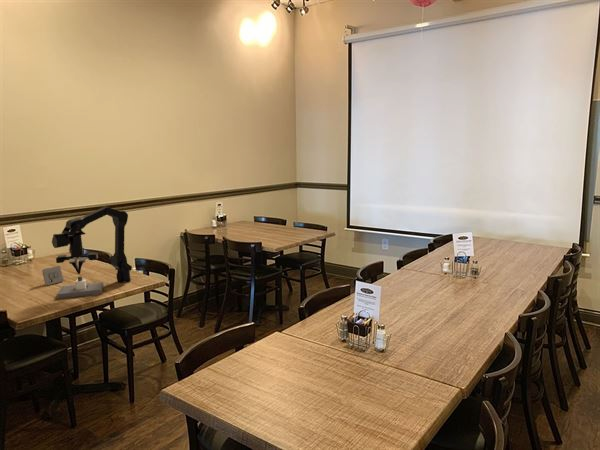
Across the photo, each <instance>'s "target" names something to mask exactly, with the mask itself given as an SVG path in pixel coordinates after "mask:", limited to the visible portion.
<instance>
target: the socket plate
mask: <svg viewBox="0 0 600 450" xmlns="http://www.w3.org/2000/svg"><path fill="white" fill-rule="evenodd" d="M104 286H105V285H104V282H103V281H102V282H93V283H91V282H90V283H86V287H87V289H82V290H76V287H75V284H72V285H63V286H61V287H60V289H59V291H58V292H57V294H56V296H57V300H58V299H59V300H60V299H71V298H81V297H87V296H97V295H101V294H102V292H103V290H104V288H105V287H104Z"/></svg>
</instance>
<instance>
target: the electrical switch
mask: <svg viewBox="0 0 600 450" xmlns="http://www.w3.org/2000/svg"><path fill="white" fill-rule="evenodd" d="M41 271H42V277H43V280H44V284H45V286H50V285H55V284H59V283H63V282H64V281H65V280H64V276H63V271H62V268H61V266H60V265H55V266H50V267H47V268H42V270H41Z"/></svg>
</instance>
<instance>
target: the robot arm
mask: <svg viewBox="0 0 600 450" xmlns="http://www.w3.org/2000/svg"><path fill="white" fill-rule="evenodd" d="M105 216H109V217H110V218H111V219H112V223H113V225H114V253H113V254H112V255H110V264H111V266H112V267H113V268H114V270H115V271H116V272H117V273H116V281H117V283H118V284H120V283H129V282H131V279H132V277H131V271H132V269H133V267H132V265H130V264H129V263H128V257H127V255H126V254H125V227H126V225H127V223H128V219H129V214H128V212H127V211H124V210H118V209H114V208H111V207H110V206H106V205H105V206H101V207H100V208H99V209H97V210H94V211H92V212H90V213H88V214H86V215H83V216H80V217H79V216H78V217H75V218H71V219H68V220H67V221H66V223H65V226H64V228H63V230H62V231H61V233H53V234H52V239H51V244H52V246H53V248H54V249H57V248H59V249H60V248H62V247H63V248H64V247H67V246H69V248H68V250H69V251H68V252H69V254H70V256H67V254H60V255H59V254H58V256H57V257H56V258H55V263H56V264H64V263H65V261H69V262H68V264H70V265H72V267H73V268H74V270H75V271H76V273H77V274H78V275H80V274H81V272H82V267H83V264H84V263H86V261H87V259H88V260H89V261H97V259H98V258H99V254H98V252H89V253H87V254H85V247H83V240H82V239H83V238H82V235H86V232H84V231H83V229H85V227H86V226H87V225H88V224H91V223H93V222H95V221H98V220H99V219H101V218H104V217H105Z"/></svg>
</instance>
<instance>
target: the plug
mask: <svg viewBox="0 0 600 450" xmlns="http://www.w3.org/2000/svg"><path fill="white" fill-rule="evenodd" d="M86 284H87V279H86V278H83V276H82V275H81V276H80V275H79V276H77V279H76V280H75V281H74V285H75V287H76V290H82V289H87V287H86Z"/></svg>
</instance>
